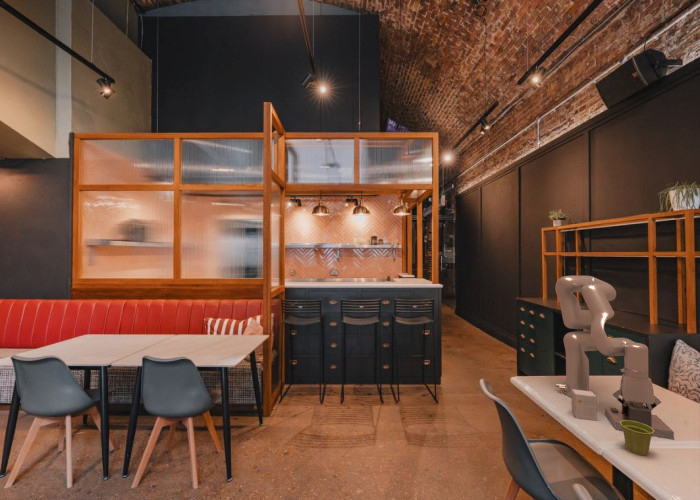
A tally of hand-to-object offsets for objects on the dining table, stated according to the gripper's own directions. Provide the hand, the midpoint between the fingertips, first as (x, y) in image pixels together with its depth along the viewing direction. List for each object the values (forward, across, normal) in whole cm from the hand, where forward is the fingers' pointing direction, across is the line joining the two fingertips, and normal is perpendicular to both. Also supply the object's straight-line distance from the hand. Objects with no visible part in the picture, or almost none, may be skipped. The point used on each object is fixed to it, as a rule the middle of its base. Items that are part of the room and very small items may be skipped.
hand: (636, 416), depth 136 cm
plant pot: (+4, -7, -21) cm, 23 cm away
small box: (+4, -18, +1) cm, 19 cm away
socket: (+4, 0, 0) cm, 4 cm away
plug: (+3, 0, 0) cm, 3 cm away
